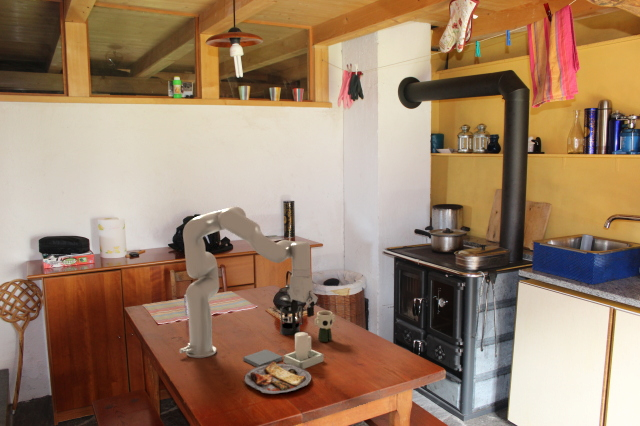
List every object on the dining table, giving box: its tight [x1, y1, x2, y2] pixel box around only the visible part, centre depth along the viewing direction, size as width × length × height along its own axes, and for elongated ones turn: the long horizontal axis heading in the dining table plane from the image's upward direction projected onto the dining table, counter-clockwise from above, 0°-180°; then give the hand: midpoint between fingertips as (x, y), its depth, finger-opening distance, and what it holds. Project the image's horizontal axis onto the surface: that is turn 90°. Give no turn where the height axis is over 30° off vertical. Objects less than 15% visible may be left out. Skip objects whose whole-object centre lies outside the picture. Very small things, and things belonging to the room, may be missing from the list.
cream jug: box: [294, 331, 312, 361], centre depth 226 cm, size 8×6×12 cm
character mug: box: [313, 310, 336, 343], centre depth 250 cm, size 11×7×13 cm, turn 121°
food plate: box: [243, 362, 312, 395], centre depth 209 cm, size 25×23×4 cm
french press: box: [279, 284, 304, 337], centre depth 260 cm, size 12×9×23 cm
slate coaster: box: [242, 349, 284, 367], centre depth 229 cm, size 12×11×2 cm
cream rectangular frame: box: [283, 349, 324, 370], centre depth 227 cm, size 12×10×3 cm
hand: (302, 313), depth 223 cm, fingers open, 9 cm apart
